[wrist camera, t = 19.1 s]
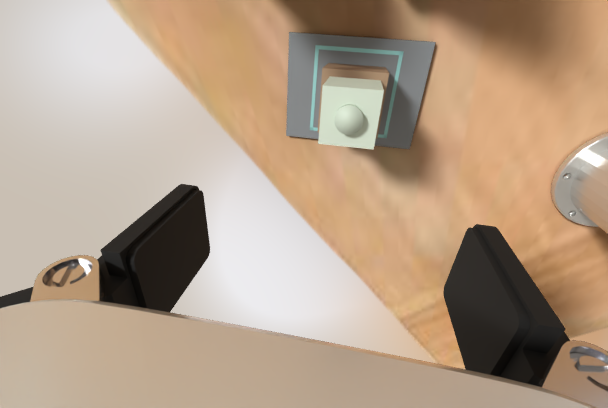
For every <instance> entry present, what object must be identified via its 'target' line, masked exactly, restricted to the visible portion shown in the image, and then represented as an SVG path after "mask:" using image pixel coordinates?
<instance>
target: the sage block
mask: <svg viewBox="0 0 608 408" xmlns="http://www.w3.org/2000/svg"><path fill="white" fill-rule="evenodd" d="M383 93H384V89H383V86H382V83H381V80H369V79H356V78H343V77H329V78H328V79H327V81H326V82H325V83H324V84H323V88H322V101H321V114H320V127H319V140H318V144H326V145H335V146H345V147H354V148H364V149H373V150H374V145H375V139H376V133H377V128H378V122H379V116H380V110H381V105H382V99H383Z"/></svg>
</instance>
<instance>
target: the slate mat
mask: <svg viewBox="0 0 608 408" xmlns="http://www.w3.org/2000/svg"><path fill="white" fill-rule="evenodd" d="M435 43H436V42H427V41H412V40H397V39H383V38H368V37H354V36H339V35H324V34H310V33H295V32H289V60H288V95H287V130H286V136H294V137H303V138H312V139H319V133H318V132H317V131H318V118H319V105H320V93H321V80H322V68H323V67H324V66H325V65H327V64H328V63H338V64H351V65H364V66H378V67H386V69H387V70H388V72H389V77H388V83H387V88H386V94H385V99H384V105H383V110H382V116H381V122H380V127H379V133H378V138H377V139H375V146H384V147H393V148H402V149H410V146H411V141H412V137H413V133H414V129H415V125H416V121H417V117H418V113H419V109H420V104H421V100H422V96H423V92H424V88H425V84H426V80H427V76H428V72H429V67H430V63H431V59H432V55H433V51H434V47H435Z"/></svg>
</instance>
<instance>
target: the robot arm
mask: <svg viewBox="0 0 608 408" xmlns="http://www.w3.org/2000/svg"><path fill="white" fill-rule="evenodd" d="M551 195H552V200H553V203H554V205H555V207H556V208H557V209H558V210H559V211H560V213H561V214H563V215H564V216H565V217H566V218H567V219H569V220H571V221H573V222H575V223H578V224H581V225H584V226H592V227H600V228H601V229H602V230H604V231H605V232H606V233H607V234H608V132H607V133H605V134H602V135H599V136H597V137H595V138H593V139H591V140H589V141H587V142H586V143H585V144H583V145H582V146H580V147H579V148H577V149H576V150H575V151H574V152H573V153H571V154H570V155H569V156H568V157H567V158H566V159H565V161H564V162H563V163H562V164H561V165H560V167H559V169H558V170H557V172H556V174H555V176H554V179H553V182H552V187H551ZM209 245H210V244H209V236H208V229H207V221H206V213H205V205H204V196H203V192H202V191H200V190H199V188H198V187H197V186H192V185H185V184H181V185H179V186H178V187H176V188H175V189H174V190H173V191H172V192H170V193H169V194H168V195H167V196H165V197H164V198H163V199H162V200H161V201H159V202H158V203H157V204H156V205H154V206H153V207H152V208H151V209H150V210H148V211H147V212H146V213H145V214H144V215H142V216H141V217H140V218H139V219H137V220H136V221H135V222H134V223H133V224H131V225H130V226H129V227H128V228H127V229H125V230H124V231H123V232H122V233H120V234H119V235H118V236H117V237H116V238H114V239H113V240H112V241H111V242H110V243H108V244H107V245H106V246H105V247H104V248H102V249H101V252H102V256H101V257H100V258H99V259H95V258H94V257H92V256H88V255H78V256H71V257H67V258H64V259H61V260H59V261H56V262H54V263H52V264H50V265H49V266H47V267H46V268H45V269H43V270H42V271H41V272H40V273H39V274H38V276H37V278H36V280H35V283H34V287H31V288H28V289H25V290H21V291H18V292H15V293H11V294H8V295H5V296H2V297H0V408H608V351H606V350H604V349H602V348H600V347H598V346H596V345H593V344H590V343H587V342H583V341H576V340H573V341H570V340H569V338H568V337H567V335H566V334H565V332H564V330H565V328H564V326H563V325H562V323H561V322H560V320H559V319H558V317H557V316H556V314H555V313H554V311H553V310H552V308H551V307H550V305H549V304H548V302H547V301H546V299H545V298H544V296H543V295H542V294H541V292H540V291H539V289H538V288H537V286H536V285H535V283H534V282H533V280H532V279H531V277H530V276H529V274H528V273H527V271H526V270H525V268H524V267H523V265H522V264H521V262H520V261H519V260H518V258H517V257H516V255H515V254H514V252H513V251H512V249H511V248H510V246H509V245H508V243H507V242H506V240H505V239H504V237H503V236H502V234H501V233H500V231H499V230H498V229H497V228H496V227H493V226H486V225H479V224H476V225H475V226H474V227H473V228H468V229H467V231H466V233H465V236H464V238H463V241H462V244H461V246H460V249H459V251H458V254H457V256H456V259H455V261H454V264H453V266H452V269H451V271H450V274H449V276H448V279H447V281H446V284H445V286H444V298H445V302H446V305H447V308H448V312H449V315H450V318H451V322H452V325H453V328H454V332H455V335H456V338H457V342H458V345H459V348H460V352H461V355H462V358H463V362H464V365H465V368H466V370H465V369H460V368H455V367H450V366H446V365H441V364H436V363H431V362H426V361H421V360H416V359H411V358H405V357H400V356H396V355H390V354H385V353H380V352H375V351H370V350H365V349H360V348H354V347H350V346H345V345H340V344H334V343H329V342H324V341H319V340H314V339H308V338H303V337H298V336H293V335H287V334H282V333H277V332H272V331H267V330H261V329H256V328H251V327H245V326H240V325H235V324H229V323H224V322H219V321H213V320H208V319H202V318H197V317H192V316H186V315H181V314H175V313H170V311H171V310H172V308H173V307H174V305H175V304H176V303H177V301H178V300H179V298H180V297H181V295H182V294H183V292H184V291H185V290H186V288H187V286H188V285H189V284H190V282H191V281H192V279H193V278H194V277H195V275H196V274H197V272H198V271H199V270H200V268H201V267H202V265H203V264H204V262H205V261H206V259H207V258H208V256H209V253H210V246H209Z"/></svg>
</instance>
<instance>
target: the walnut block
mask: <svg viewBox="0 0 608 408" xmlns="http://www.w3.org/2000/svg"><path fill="white" fill-rule="evenodd" d="M329 77H343V78H356V79H369V80H381V83H382V86H383V89H384V93H383V99H382V105H381V110H380V116H379V122H378V128H377V133H376V139H377V138H378V133H379V127H380V122H381V116H382V110H383V105H384V99H385V94H386V88H387V83H388V77H389V72H388V70H387V69H386V67H378V66H364V65H351V64H338V63H328V64H327V65H325V66H324V67H323V68H322V80H321V93H320V105H319V118H318V131H317V132H318V133H319V127H320V114H321V101H322V88H323V84H324V83H325V82H326V81H327V79H328V78H329Z"/></svg>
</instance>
